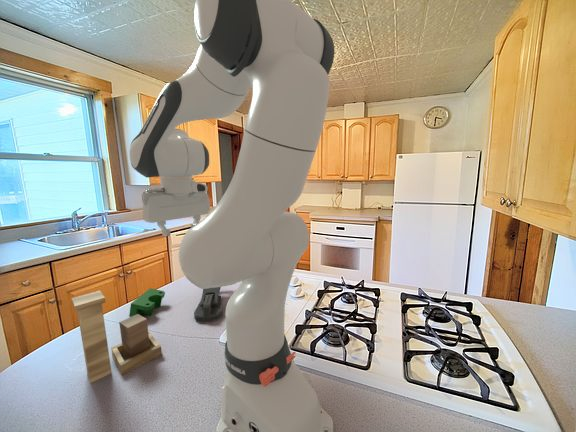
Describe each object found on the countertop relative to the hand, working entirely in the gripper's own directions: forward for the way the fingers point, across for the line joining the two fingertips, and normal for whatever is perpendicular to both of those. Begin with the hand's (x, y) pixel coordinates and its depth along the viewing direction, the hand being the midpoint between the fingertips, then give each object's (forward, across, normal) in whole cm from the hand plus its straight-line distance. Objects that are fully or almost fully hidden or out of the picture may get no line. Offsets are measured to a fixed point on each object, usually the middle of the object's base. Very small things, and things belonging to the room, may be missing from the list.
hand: (181, 232), depth 76 cm
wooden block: (+29, -17, -3) cm, 34 cm away
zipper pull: (+29, +12, +2) cm, 32 cm away
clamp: (+29, -4, +17) cm, 34 cm away
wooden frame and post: (+29, -20, -3) cm, 36 cm away
